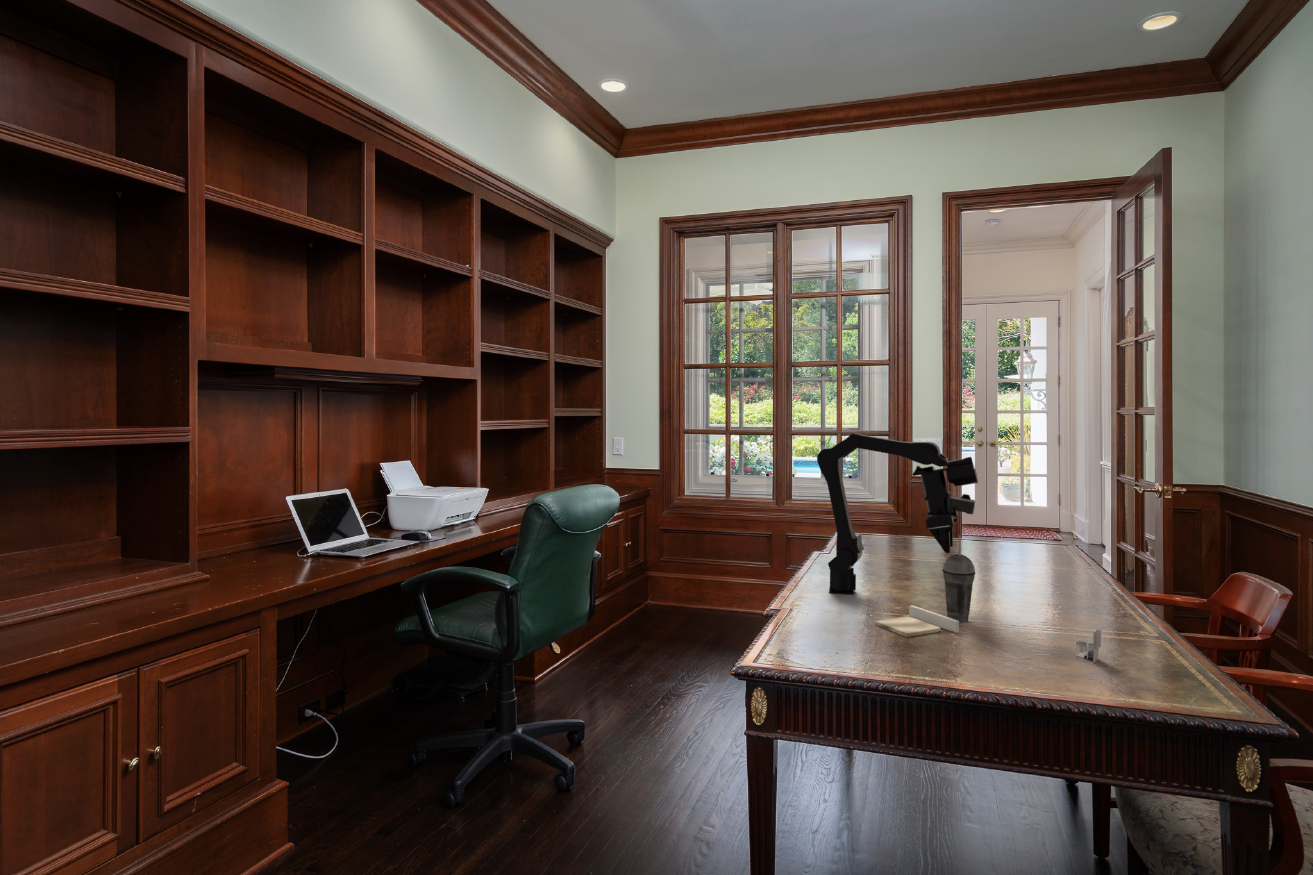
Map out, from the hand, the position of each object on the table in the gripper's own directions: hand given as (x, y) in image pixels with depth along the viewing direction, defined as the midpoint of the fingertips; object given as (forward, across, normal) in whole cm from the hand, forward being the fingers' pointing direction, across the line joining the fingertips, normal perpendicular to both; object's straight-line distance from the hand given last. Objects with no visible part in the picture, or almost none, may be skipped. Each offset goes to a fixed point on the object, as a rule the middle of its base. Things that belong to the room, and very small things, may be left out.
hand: (949, 549), depth 183 cm
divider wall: (+13, -20, +5) cm, 25 cm away
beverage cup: (+14, -14, 0) cm, 21 cm away
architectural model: (+20, -35, -20) cm, 45 cm away
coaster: (+12, -27, +10) cm, 31 cm away
